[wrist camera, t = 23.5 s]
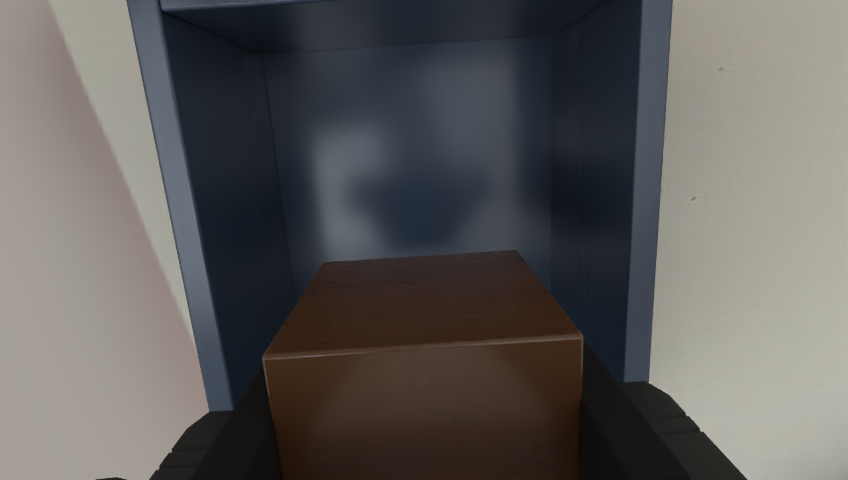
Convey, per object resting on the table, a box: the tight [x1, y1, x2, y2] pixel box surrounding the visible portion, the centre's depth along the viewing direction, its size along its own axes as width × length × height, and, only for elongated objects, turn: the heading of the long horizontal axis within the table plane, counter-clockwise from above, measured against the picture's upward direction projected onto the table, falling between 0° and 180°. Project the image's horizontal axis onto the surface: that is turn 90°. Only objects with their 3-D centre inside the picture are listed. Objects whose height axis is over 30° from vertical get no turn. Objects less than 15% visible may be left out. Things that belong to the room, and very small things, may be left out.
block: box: [262, 250, 583, 480], centre depth 10 cm, size 5×5×5 cm
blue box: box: [126, 0, 673, 412], centre depth 18 cm, size 19×14×9 cm
